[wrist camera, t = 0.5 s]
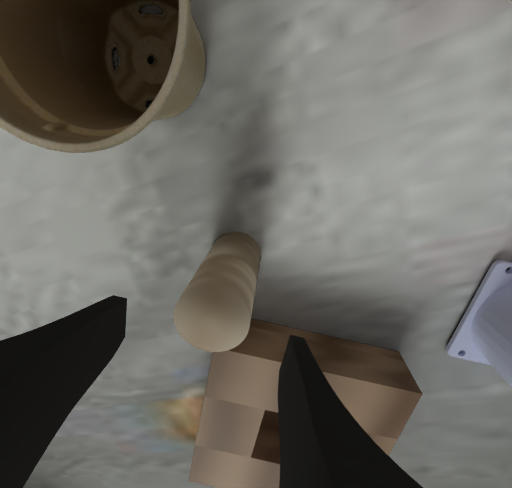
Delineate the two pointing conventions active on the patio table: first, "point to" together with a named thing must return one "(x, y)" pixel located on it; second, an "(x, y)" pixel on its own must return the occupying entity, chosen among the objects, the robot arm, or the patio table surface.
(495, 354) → the robot arm
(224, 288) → the peg
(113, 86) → the flower pot
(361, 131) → the patio table surface
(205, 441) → the socket block
